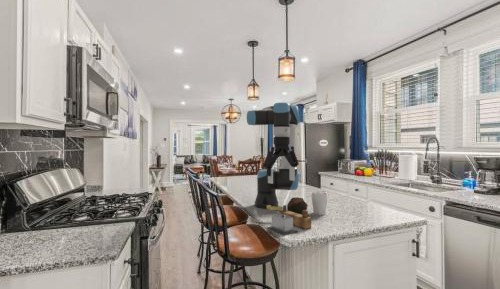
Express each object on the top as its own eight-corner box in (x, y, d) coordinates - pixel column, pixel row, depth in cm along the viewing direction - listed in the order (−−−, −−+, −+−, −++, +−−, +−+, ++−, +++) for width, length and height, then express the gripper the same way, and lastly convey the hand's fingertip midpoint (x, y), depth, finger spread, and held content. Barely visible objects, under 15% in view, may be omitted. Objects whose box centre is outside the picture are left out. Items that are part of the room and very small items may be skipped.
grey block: (271, 227, 123) (271, 213, 123) (279, 225, 126) (279, 211, 126) (284, 232, 116) (284, 217, 116) (293, 230, 119) (293, 216, 119)
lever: (267, 208, 139) (267, 204, 139) (282, 209, 137) (282, 205, 137) (266, 209, 137) (266, 205, 137) (282, 210, 135) (282, 206, 135)
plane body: (279, 220, 136) (279, 205, 136) (284, 219, 138) (284, 203, 138) (305, 229, 121) (305, 212, 121) (311, 228, 124) (311, 211, 124)
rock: (284, 212, 151) (284, 195, 151) (303, 212, 152) (303, 195, 152) (290, 219, 138) (290, 200, 138) (310, 219, 138) (310, 200, 138)
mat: (267, 228, 124) (267, 227, 124) (279, 225, 128) (279, 224, 128) (284, 235, 114) (284, 234, 114) (297, 231, 118) (297, 230, 118)
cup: (326, 211, 154) (326, 191, 154) (329, 215, 145) (329, 193, 145) (310, 211, 155) (310, 190, 155) (312, 215, 146) (312, 193, 146)
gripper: (265, 136, 112) (265, 185, 112) (306, 136, 126) (306, 180, 127) (255, 136, 118) (255, 183, 118) (294, 136, 133) (294, 178, 133)
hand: (281, 181), depth 123 cm, fingers open, 13 cm apart
